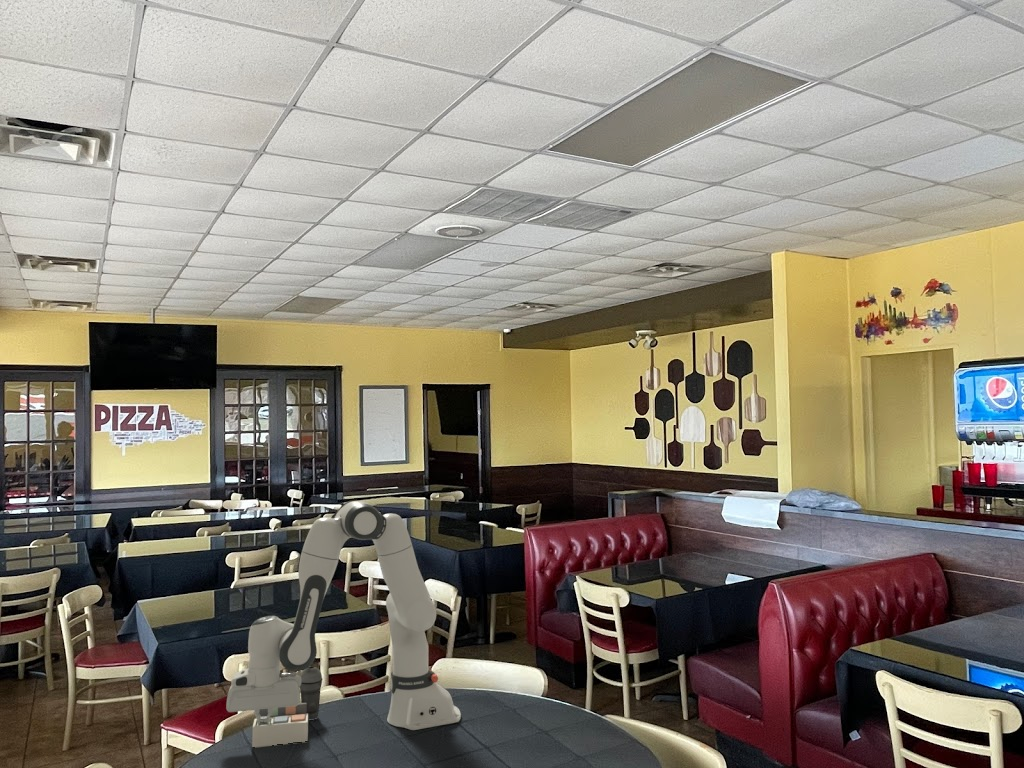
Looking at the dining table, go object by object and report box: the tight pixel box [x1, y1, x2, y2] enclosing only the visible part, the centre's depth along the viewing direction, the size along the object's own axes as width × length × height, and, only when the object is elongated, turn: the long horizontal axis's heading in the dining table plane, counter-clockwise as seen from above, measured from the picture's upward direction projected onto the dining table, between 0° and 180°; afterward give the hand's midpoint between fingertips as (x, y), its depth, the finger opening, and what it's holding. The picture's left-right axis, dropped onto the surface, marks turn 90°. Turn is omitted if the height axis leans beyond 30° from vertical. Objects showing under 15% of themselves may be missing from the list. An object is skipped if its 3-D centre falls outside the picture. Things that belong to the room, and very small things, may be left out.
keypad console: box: [251, 702, 309, 748], centre depth 220 cm, size 15×9×8 cm, turn 104°
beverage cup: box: [299, 665, 323, 720], centre depth 236 cm, size 7×7×20 cm
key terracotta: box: [292, 714, 305, 722], centre depth 220 cm, size 4×4×2 cm
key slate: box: [274, 716, 288, 724], centre depth 219 cm, size 4×4×2 cm
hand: (263, 723), depth 218 cm, fingers closed
